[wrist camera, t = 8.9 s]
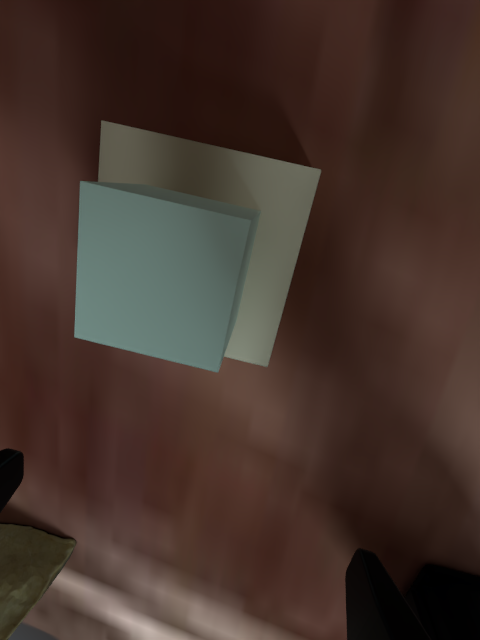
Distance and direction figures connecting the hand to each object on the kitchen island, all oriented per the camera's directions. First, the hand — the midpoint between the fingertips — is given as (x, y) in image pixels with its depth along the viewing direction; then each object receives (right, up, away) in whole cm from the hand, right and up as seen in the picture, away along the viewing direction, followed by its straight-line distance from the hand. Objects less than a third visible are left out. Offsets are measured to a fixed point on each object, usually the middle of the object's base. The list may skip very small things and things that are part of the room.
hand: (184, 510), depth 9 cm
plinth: (0, +9, +9) cm, 13 cm away
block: (-1, +8, +6) cm, 10 cm away
